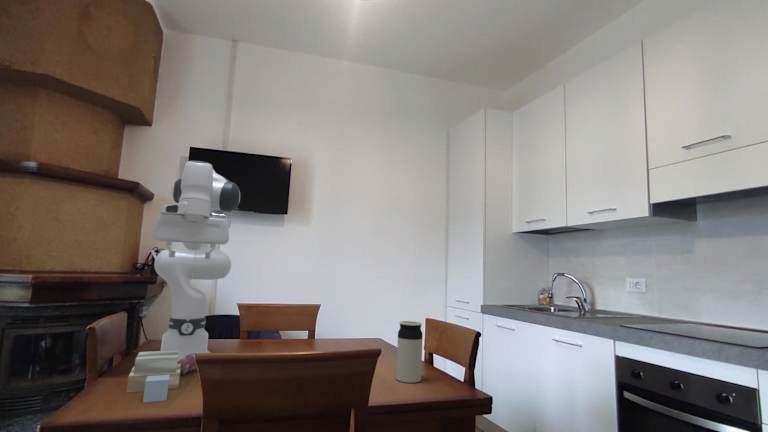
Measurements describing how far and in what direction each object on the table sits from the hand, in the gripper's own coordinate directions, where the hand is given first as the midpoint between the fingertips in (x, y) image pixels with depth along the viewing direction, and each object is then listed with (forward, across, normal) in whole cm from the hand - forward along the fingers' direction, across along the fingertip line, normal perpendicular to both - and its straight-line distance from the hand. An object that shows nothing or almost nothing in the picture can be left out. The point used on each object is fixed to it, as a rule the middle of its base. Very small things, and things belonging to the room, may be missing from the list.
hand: (189, 257), depth 114 cm
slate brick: (+36, +5, +6) cm, 37 cm away
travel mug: (+38, -66, +11) cm, 77 cm away
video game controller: (+34, -2, -18) cm, 38 cm away
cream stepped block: (+35, +6, -6) cm, 36 cm away
